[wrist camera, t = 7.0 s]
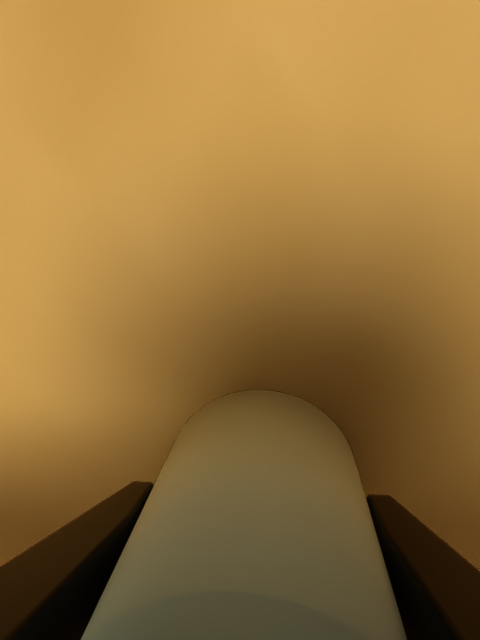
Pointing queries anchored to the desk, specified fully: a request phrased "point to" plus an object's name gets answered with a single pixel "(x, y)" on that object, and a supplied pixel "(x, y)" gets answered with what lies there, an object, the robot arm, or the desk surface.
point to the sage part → (253, 535)
